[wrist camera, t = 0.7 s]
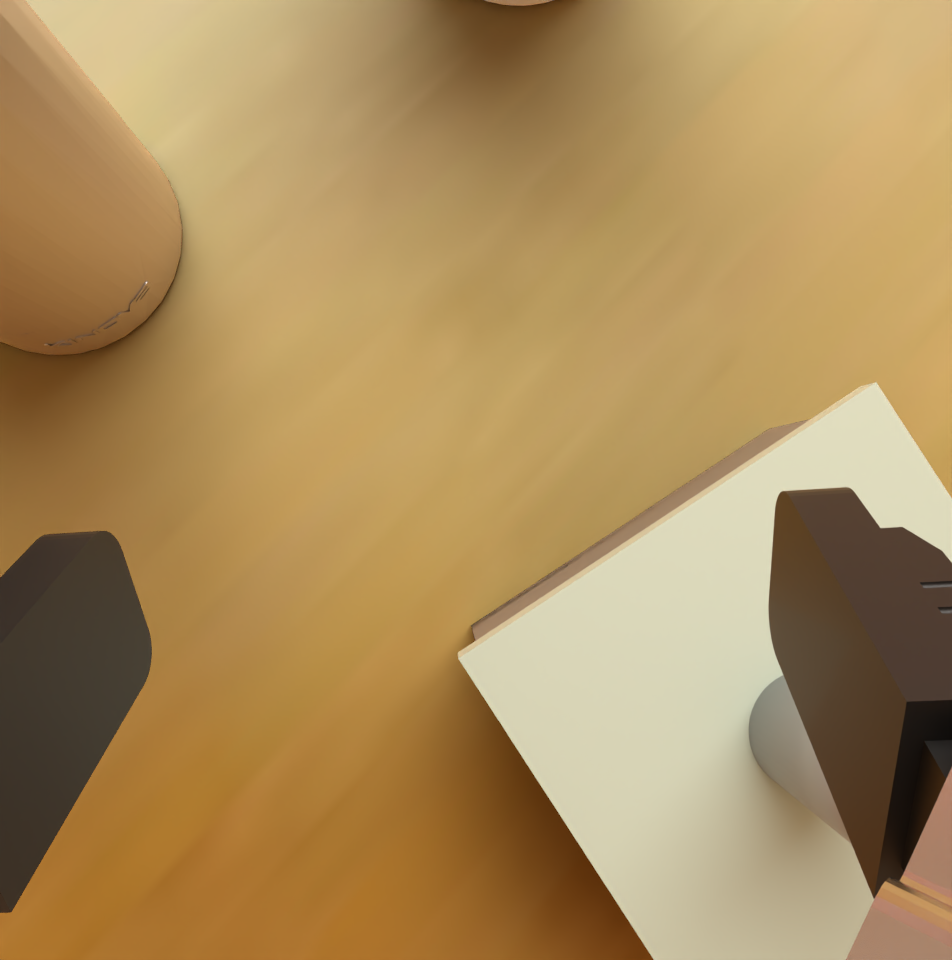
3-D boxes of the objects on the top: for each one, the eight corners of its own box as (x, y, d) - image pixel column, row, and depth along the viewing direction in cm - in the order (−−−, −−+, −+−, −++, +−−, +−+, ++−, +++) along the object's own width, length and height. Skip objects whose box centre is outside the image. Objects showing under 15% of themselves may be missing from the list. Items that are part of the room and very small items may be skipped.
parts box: (471, 625, 33) (480, 657, 26) (769, 428, 34) (855, 408, 27) (669, 930, 33) (731, 1044, 26) (963, 727, 34) (1099, 784, 27)
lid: (457, 652, 26) (470, 743, 16) (859, 386, 27) (1108, 317, 17) (727, 1067, 26) (906, 1415, 16) (1121, 789, 27) (1523, 955, 17)
